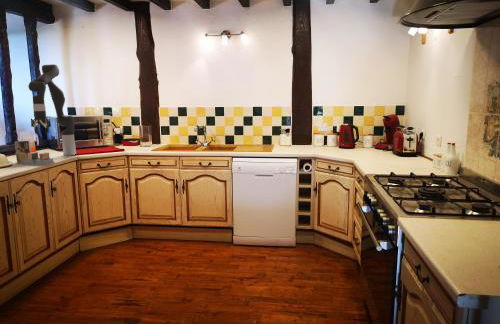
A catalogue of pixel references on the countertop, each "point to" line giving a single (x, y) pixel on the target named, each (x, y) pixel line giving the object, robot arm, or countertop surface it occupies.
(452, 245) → the countertop surface
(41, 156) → the dark brown block
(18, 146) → the coffee box
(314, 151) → the countertop surface
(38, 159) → the grey piece
